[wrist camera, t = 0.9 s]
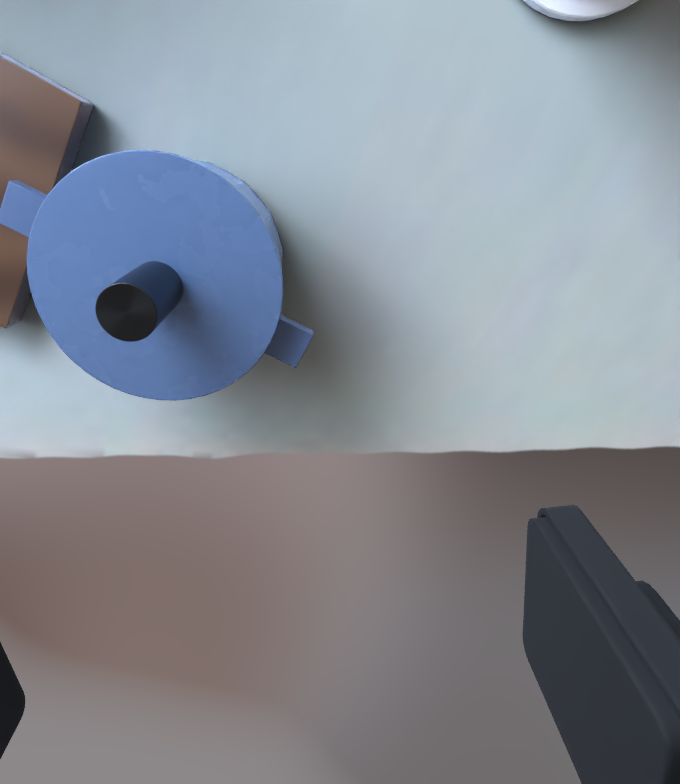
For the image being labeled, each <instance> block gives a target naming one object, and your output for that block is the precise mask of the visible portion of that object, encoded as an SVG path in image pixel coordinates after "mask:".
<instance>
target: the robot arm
mask: <svg viewBox="0 0 680 784" xmlns="http://www.w3.org/2000/svg"><path fill="white" fill-rule="evenodd" d="M523 1H524V2H525V3H527V4H528V5H529V6H530V7H532V8H533V9H535V10H537V11H539V12H541V13H543V14H545V15H547V16H549V17H552V18H556V19H561V20H565V21H589V20H593V19H597V18H602V17H606V16H608V15H611V14H613V13H615V12H618V11H620V10H622V9H624V8H626V7H628V6H630V5H632V4H633V3H635V2H637V1H639V0H523ZM524 599H525V600H524V620H523V643H524V648H525V652H526V655H527V658H528V661H529V663H530V665H531V668H532V670H533V672H534V675H535V677H536V679H537V682H538V684H539V686H540V688H541V691H542V693H543V695H544V698H545V700H546V702H547V705H548V707H549V709H550V711H551V714H552V716H553V718H554V721H555V723H556V725H557V728H558V730H559V732H560V735H561V737H562V739H563V741H564V743H565V746H566V748H567V751H568V753H569V755H570V758H571V760H572V762H573V764H574V767H575V769H576V771H577V774H578V776H579V778H580V781H581V783H582V784H680V620H679V619H678V618H677V617H676V616H675V614H674V613H673V612H672V611H671V609H670V608H669V607H668V605H667V604H666V603H665V602H664V600H663V599H662V598H661V597H660V596H659V594H658V593H657V592H656V591H655V590H654V589H653V588H652V587H651V586H650V585H649V584H647V583H645V582H644V581H635V580H634V579H633V577H632V576H631V575H630V573H629V572H628V571H627V569H626V568H625V567H624V566H623V564H622V563H621V562H620V560H619V559H618V558H617V556H616V555H615V554H614V553H613V551H612V550H611V549H610V547H609V546H608V545H607V544H606V542H605V541H604V540H603V538H602V537H601V536H600V535H599V533H598V532H597V530H596V529H595V528H594V527H593V525H592V524H591V523H590V522H589V520H588V519H587V517H586V516H585V515H584V514H583V512H582V511H581V510H580V509H579V508H578V507H577V506H575V505H568V506H560V507H550V508H542V509H540V510H539V512H538V516H537V518H532V519H529V522H528V530H527V553H526V575H525V598H524ZM24 708H25V695H24V692H23V690H22V688H21V686H20V683H19V681H18V679H17V677H16V675H15V673H14V671H13V668H12V666H11V664H10V662H9V660H8V658H7V655H6V653H5V651H4V649H3V647H2V645H1V643H0V758H1V757H2V755H3V753H4V751H5V749H6V747H7V745H8V743H9V741H10V739H11V737H12V735H13V733H14V731H15V729H16V728H17V726H18V724H19V722H20V720H21V717H22V715H23V712H24Z"/></svg>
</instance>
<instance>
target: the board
mask: <svg viewBox="0 0 680 784" xmlns="http://www.w3.org/2000/svg"><path fill="white" fill-rule="evenodd" d="M93 106H94V104H93V103H91V102H89V101H88V100H86V99H84V98H82V97H80V96H79V95H77V94H75V93H73V92H71V91H70V90H68V89H66V88H64V87H63V86H61V85H59V84H57V83H55V82H54V81H52V80H50V79H48V78H46V77H45V76H43V75H41V74H39V73H38V72H36V71H34V70H32V69H30V68H29V67H27V66H25V65H23V64H21V63H20V62H18V61H16V60H14V59H12V58H11V57H9V56H7V55H5V54H4V53H2V52H0V208H1V205H2V202H3V199H4V195H5V192H6V189H7V185H8V182H9V181H13V180H19V181H21V182H23V183H25V184H27V185H29V186H31V187H33V188H35V189H37V190H39V191H41V192H43V193H44V194H46V195H48V194H49V192H50V191H51V190H52V189H53V188H54V187H55V185H56V184H57V183H58V182H59V181H60V180H61V179H63V178H64V177H65V176H66V175H67V174H69V173H70V172H71V170H72V167H73V164H74V161H75V159H76V156H77V153H78V150H79V147H80V144H81V141H82V138H83V135H84V132H85V129H86V126H87V123H88V120H89V117H90V114H91V112H92V109H93ZM28 240H29V237H27V236H25V235H23V234H21V233H19V232H17V231H14V230H12V229H10V228H8V227H6V226H4V225H2V224H0V326H2V327H4V328H9V327H10V326H12V325H14V324H16V323H17V322H19V321H20V320H21V317H22V314H23V311H24V308H25V305H26V302H27V300H28V297H29V294H30V285H29V279H28V274H27V250H28Z"/></svg>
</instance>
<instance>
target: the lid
mask: <svg viewBox="0 0 680 784" xmlns="http://www.w3.org/2000/svg"><path fill="white" fill-rule="evenodd" d="M27 274H28V279H29V285H30V291H31V294H32V297H33V300H34V303H35V306H36V309H37V311H38V313H39V315H40V317H41V320H42V322H43V323H44V325H45V327H46V328H47V330H48V332H49V333H50V335H51V337H52V338H53V339H54V340H55V342H56V343H57V344H58V346H59V347H60V348H61V349H62V350H63V352H64V353H65V354H66V355H67V356H68V357H69V358H70V359H71V360H72V361H73V362H74V363H76V364H77V365H78V366H79V367H81V368H82V369H83V370H84V371H85V372H87V373H88V374H90V375H91V376H93V377H94V378H96V379H97V380H99V381H101V382H103V383H105V384H107V385H109V386H111V387H113V388H115V389H117V390H120V391H123V392H125V393H128V394H131V395H135V396H139V397H143V398H149V399H156V400H184V399H192V398H196V397H201V396H205V395H208V394H211V393H213V392H216V391H219V390H221V389H223V388H225V387H227V386H228V385H230V384H232V383H233V382H235V381H236V380H238V379H239V378H241V377H242V376H243V375H245V374H246V373H247V372H248V371H249V370H250V369H251V368H252V367H253V366H254V365H255V364H256V363H257V361H258V360H259V359H260V358H261V357H262V355H263V354H264V352H265V351H266V349H267V347H268V346H269V344H270V343H271V340H272V338H273V336H274V333H275V331H276V329H277V325H278V322H279V318H280V315H281V309H282V302H283V275H282V267H281V262H280V258H279V254H278V251H277V247H276V245H275V242H274V240H273V237H272V235H271V233H270V231H269V229H268V227H267V225H266V224H265V222H264V220H263V218H262V217H261V215H260V214H259V213H258V211H257V210H256V208H255V207H254V206H253V204H252V203H251V202H250V201H249V200H248V199H247V198H246V197H245V195H244V194H243V193H242V192H241V191H240V190H239V189H238V188H236V187H235V186H234V185H233V184H232V183H230V182H229V181H228V180H227V179H226V178H224V177H223V176H221V175H220V174H218V173H216V172H215V171H213V170H212V169H210V168H208V167H206V166H204V165H202V164H200V163H198V162H196V161H194V160H191V159H188V158H185V157H182V156H179V155H176V154H171V153H166V152H160V151H148V150H132V151H121V152H116V153H111V154H107V155H103V156H100V157H98V158H95V159H93V160H90V161H88V162H86V163H84V164H82V165H81V166H79V167H77V168H76V169H74V170H72V171H71V172H70V173H69V174H67V175H66V176H65V177H64V178H63V179H61V180H60V181H59V182H58V183H57V184H56V185H55V187H54V188H53V189H52V190H51V191H50V192H49V194H48V195H47V196H46V198H45V200H44V201H43V203H42V205H41V206H40V208H39V210H38V212H37V214H36V217H35V219H34V222H33V224H32V228H31V232H30V236H29V240H28V250H27Z"/></svg>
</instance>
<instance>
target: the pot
mask: <svg viewBox="0 0 680 784" xmlns="http://www.w3.org/2000/svg"><path fill="white" fill-rule="evenodd" d="M196 162H198V163H200V164H202V165H204V166H206V167H208V168H210V169H212V170H213V171H215V172H216V173H218V174H220V175H221V176H223V177H224V178H226V179H227V180H228V181H229V182H230V183H232V184H233V185H234V186H235V187H236V188H238V189H239V190H240V191H241V192H242V193H243V194H244V195H245V197H246V198H247V199H248V200H249V201H250V202H251V203H252V204H253V206H254V207H255V208H256V210H257V211H258V213H259V214H260V215H261V217H262V218H263V220H264V222H265V224H266V225H267V227H268V229H269V231H270V233H271V235H272V237H273V240H274V242H275V245H276V247H277V251H278V254H279V258H280V262H281V267H282V258H283V249H282V246H281V243H280V239H279V235H278V232H277V229H276V226H275V224H274V221H273V218H272V215H271V214H270V212H269V211H268V210H267V208H266V207H265V205H264V204H263V203H262V201H261V200H260V199H259V197H258V196H257V195H256V194H255V193H254V192H253V191H252V190H251V189H250V188H249V186H248V185H247V184H246V183H245V182H243V181H242V180H240V179H238V178H237V177H235V176H234V175H232V174H231V173H229V172H227V171H225V170H223V169H221V168H219V167H217V166H215V165H213V164H211V163H209V162H202V161H196ZM46 196H47V195H46V194H44V193H43V192H41V191H39V190H37V189H35V188H33V187H31V186H29V185H27V184H25V183H23V182H21V181H19V180H13V181H9V182H8V185H7V189H6V192H5V195H4V199H3V202H2V205H1V208H0V224H2V225H4V226H6V227H8V228H10V229H12V230H14V231H17V232H19V233H21V234H23V235H25V236H27V237H29V236H30V232H31V228H32V224H33V222H34V219H35V217H36V214H37V212H38V210H39V208H40V206H41V205H42V203H43V201H44V200H45V198H46ZM312 337H313V330H311V329H309V328H307V327H305V326H303V325H301V324H299V323H297V322H295V321H293V320H291V319H289V318H287V317H285V316H283V315H280V318H279V322H278V325H277V329H276V331H275V333H274V336H273V338H272V340H271V343H270V344H269V346H268V347H267V349H266V351H265V352H264V353H266V354H268V355H270V356H272V357H274V358H276V359H278V360H280V361H282V362H284V363H286V364H288V365H291V366H293V367H295V368H296V366H297V365H298V363H299V361H300V359H301V357H302V356H303V354H304V352H305V350H306V348H307V346H308V345H309V343H310V341H311V339H312Z"/></svg>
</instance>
